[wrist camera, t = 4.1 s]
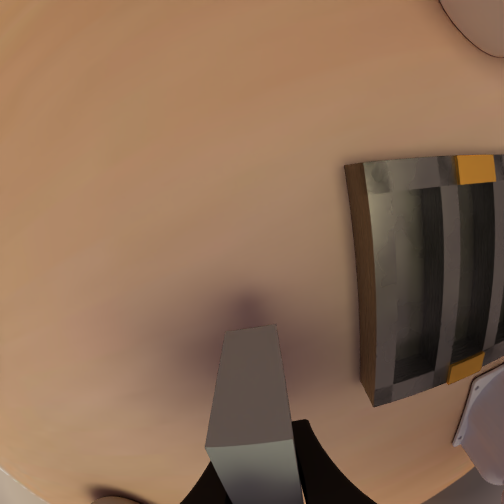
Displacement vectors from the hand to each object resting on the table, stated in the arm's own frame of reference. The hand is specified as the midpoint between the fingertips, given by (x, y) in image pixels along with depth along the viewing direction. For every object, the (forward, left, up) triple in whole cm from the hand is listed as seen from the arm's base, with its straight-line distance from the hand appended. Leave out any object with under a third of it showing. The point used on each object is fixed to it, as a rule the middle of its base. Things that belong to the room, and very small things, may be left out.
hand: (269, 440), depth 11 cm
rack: (+3, -13, -8) cm, 15 cm away
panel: (0, 0, -2) cm, 2 cm away
